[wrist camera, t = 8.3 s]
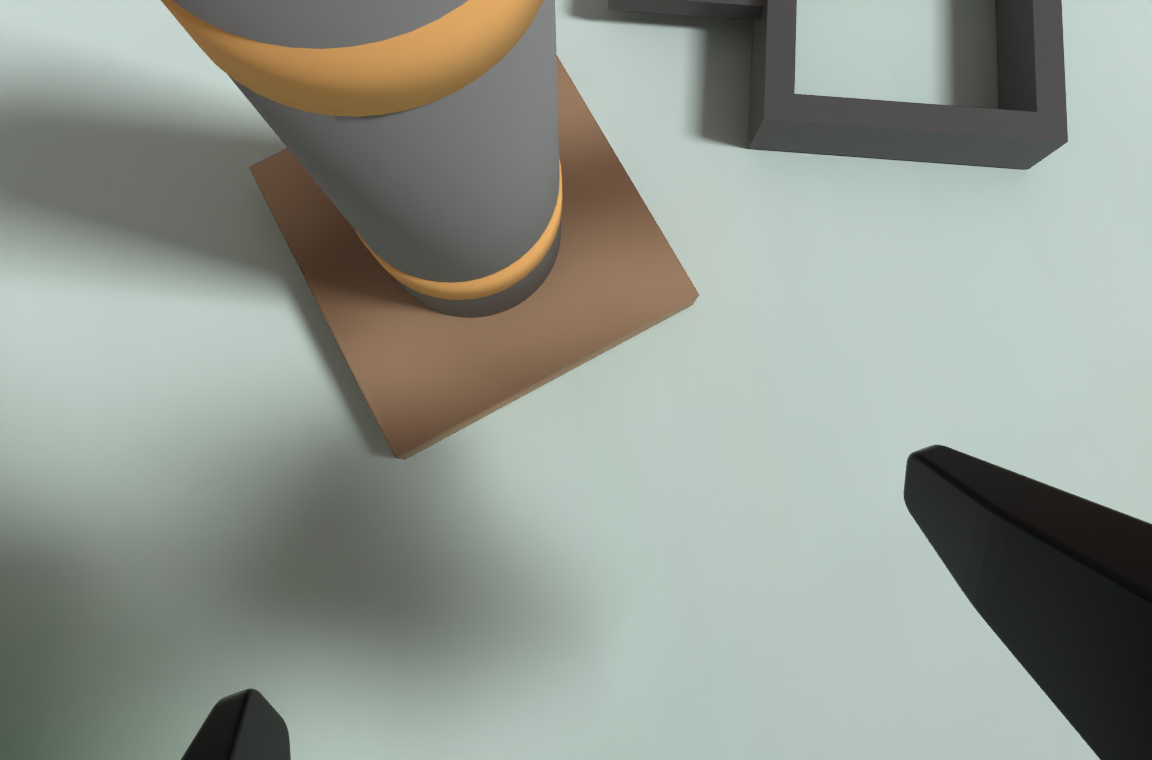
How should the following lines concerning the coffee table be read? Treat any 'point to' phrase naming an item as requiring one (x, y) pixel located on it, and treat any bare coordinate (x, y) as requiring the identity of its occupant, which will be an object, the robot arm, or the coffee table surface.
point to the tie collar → (902, 128)
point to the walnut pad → (498, 342)
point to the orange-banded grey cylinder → (413, 129)
